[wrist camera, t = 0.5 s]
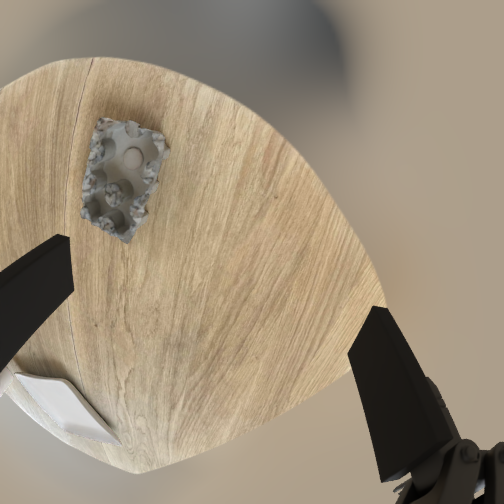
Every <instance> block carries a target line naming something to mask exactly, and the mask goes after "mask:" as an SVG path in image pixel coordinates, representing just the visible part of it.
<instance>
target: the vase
mask: <svg viewBox="0 0 504 504" xmlns="http://www.w3.org/2000/svg"><path fill="white" fill-rule="evenodd" d="M13 379H14V378H13V375H12V374H11V372H10V371H9V370H8V368H7V367H6V366H5V368H4V369H3V370H2V372H1V373H0V397H1V396H2V394H3V393H4V392H5V390H6V389H7V388H8V386H9V385H10V384H11V382H12V381H13Z"/></svg>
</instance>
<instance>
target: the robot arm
mask: <svg viewBox="0 0 504 504" xmlns="http://www.w3.org/2000/svg"><path fill="white" fill-rule="evenodd" d="M73 291H74V283H73V275H72V265H71V253H70V237H67V236H64V235H60V234H56V235H55V236H53V237H51V238H50V239H48V240H47V241H45V242H43V243H42V244H40V245H39V246H37V247H36V248H34V249H33V250H31V251H30V252H28V253H27V254H25V255H24V256H22V257H21V258H19V259H18V260H16V261H15V262H14V263H12V264H11V265H9V266H8V267H7V268H5V269H4V270H2V271H1V272H0V373H1V372H2V370H3V369H4V368H5V366H6V365H7V364H8V363H9V362H10V360H11V359H12V358H13V357H14V355H15V354H16V353H17V352H18V351H19V349H20V348H21V347H22V346H23V345H24V344H25V342H26V341H27V340H28V339H29V338H30V337H31V336H32V335H33V333H34V332H35V331H36V330H37V329H38V328H39V327H40V326H41V325H42V323H43V322H44V321H45V320H46V319H47V318H48V317H49V316H50V315H51V314H52V313H53V312H54V311H55V310H56V309H57V308H58V307H59V306H60V305H61V304H62V302H63V301H64V300H65V299H66V298H67V297H68V296H69V295H70V294H71V293H72V292H73ZM347 354H348V357H349V361H350V364H351V367H352V371H353V374H354V377H355V381H356V384H357V388H358V391H359V395H360V398H361V402H362V405H363V409H364V412H365V417H366V420H367V424H368V428H369V432H370V436H371V440H372V444H373V448H374V452H375V457H376V461H377V466H378V470H379V475H380V480H381V483H383V482H388V481H393V480H398V479H400V478H401V477H403V476H405V475H406V474H407V473H409V472H410V473H411V476H412V478H410V479H409V480H407V481H405V482H404V483H402V484H400V485H399V486H397V487H396V488H395V489H394V490H393V492H397V491H398V490H400V489H402V488H403V487H404V488H403V490H402V491H401V492H400V493H398V494H399V495H400V496H399V498H398V500H397V502H396V504H504V442H499V443H498V444H496V445H495V446H494V447H493V448H492V449H491V450H479V448H478V446H477V445H476V444H475V443H474V442H473V441H472V440H469V439H461V437H460V435H459V433H458V430H457V428H456V426H455V424H454V421H453V419H452V417H451V415H450V413H449V410H448V408H446V404H445V402H444V400H443V399H442V396H441V394H440V392H439V390H438V388H437V386H436V385H435V384H434V383H433V382H432V381H431V379H430V378H429V377H425V375H424V373H423V371H422V369H421V367H420V365H419V363H418V361H417V359H416V358H415V356H414V354H413V352H412V350H411V348H410V347H409V345H408V343H407V341H406V339H405V337H404V336H403V334H402V332H401V330H400V329H399V327H398V325H397V324H396V322H395V320H394V318H393V317H392V315H391V313H390V312H389V310H388V308H383V307H378V306H372V308H371V310H370V312H369V314H368V316H367V318H366V320H365V322H364V324H363V326H362V328H361V330H360V332H359V334H358V335H357V337H356V339H355V341H354V343H353V344H352V346H351V348H350V350H349V352H348V353H347ZM483 487H485V488H484V489H485V490H484V494H483V495H481V496H479V497H478V498H476V499H475V498H474V493H476V492H477V491H479V490H481V489H482V488H483Z"/></svg>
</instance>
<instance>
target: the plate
mask: <svg viewBox="0 0 504 504" xmlns="http://www.w3.org/2000/svg"><path fill="white" fill-rule="evenodd" d="M14 374H15V376H16V377H17V379H18V380H19V381H20V383H21V384H22V385H23V387H24V388H25V389H26V390H27V392H28V393H29V394H30V395H31V397H32V398H33V399H34V400H35V401H36V403H37V404H38V405H39V406H40V407H41V408H42V409H43V410H44V411H45V413H46V414H47V415H48V416H49V417H50V418H51V419H52V420H53V421H54V422H55V423H56V424H57V425H58V426H59V427H60V428H61V429H63V430H64V431H65V432H68V433H71V434H74V435H77V436H80V437H83V438H87V439H91V440H94V441H98V442H103V443H107V444H112V445H117V446H122V443H121V441H120V439H119V438H118V436H117V435H116V434H115V433H114V431H113V430H112V429H111V428H110V427H109V426H108V425H107V424H106V423H105V421H104V420H103V419H102V418H101V417H100V416H99V415H98V413H97V412H96V411H95V410H94V409H93V408H92V407H91V405H90V404H89V403H88V402H87V401H86V400H85V398H84V397H83V396H82V395H81V394H80V392H79V391H78V390H77V389H76V388H75V387H74V386H73V385H72V384H71V383H70V382H69V381H67V380H66V379H62V378H49V377H42V376H36V375H32V374H28V373H23V372H16V373H14Z"/></svg>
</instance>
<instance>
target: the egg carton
mask: <svg viewBox="0 0 504 504" xmlns="http://www.w3.org/2000/svg"><path fill="white" fill-rule="evenodd" d="M165 138H166V137H164V135H163V133H161V132H159V131H155V130H149V129H146V128H140V124H138V123H136V122H134V121H131V120H129V121H119V120H117V121H115V120H112V119H109V118H105V117H101V118H99V119H98V121H97V125H96V126H95V128H94V131H93V135H92V138H91V142H90V147H89V148H90V149H91V152H90V155H89V158H88V160H87V168H86V173H85V177H84V180H83V190H82V193H83V198H82V202H83V208H82V209H81V212H80V214H81V218H83V219H88V220H89V221H91V224H92V225H94V226H97V227H99V228H100V229H101V230H103V231H105V232H107V233H108V234H109V235H110V236H115V237H118V238H119V239H120V240H121V241H123V242H124V243H126V244H128V243H129V242H130V240H131V239H132V237H133V236H134V234H135V232H136V230H137V228H139V227H140V226H141V225H143V224H144V223H145V222H146V221H147V218H148V213H147V212H146V211H145V209H144V206H145V205H146V203H147V201H148V199H149V196H150V194H151V193H154V192H155V191H156V190H157V187H158V184H159V182H158V181H157V180H156V179H157V177H158V173H159V169H160V165H161V162H162V160H163V159H167V158H168V156H169V154H170V148H169V147H167V146H166V144H165V142H164V141H165Z"/></svg>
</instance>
